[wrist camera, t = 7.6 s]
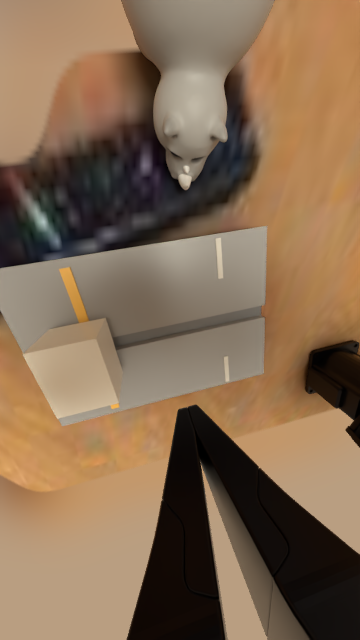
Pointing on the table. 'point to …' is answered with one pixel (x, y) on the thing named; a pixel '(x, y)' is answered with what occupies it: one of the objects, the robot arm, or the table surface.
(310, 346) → the table surface
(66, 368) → the fader cap
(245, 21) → the chubby cartoon animal
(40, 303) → the console board
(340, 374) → the robot arm
